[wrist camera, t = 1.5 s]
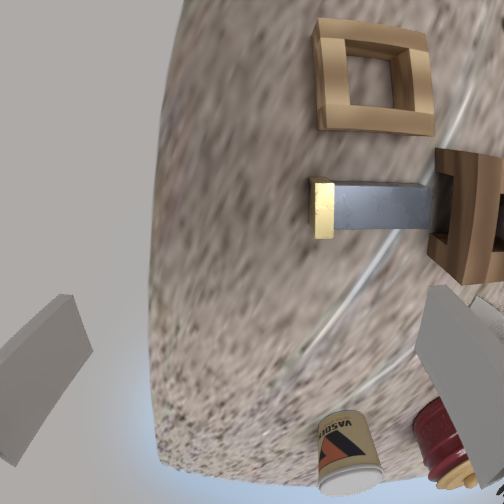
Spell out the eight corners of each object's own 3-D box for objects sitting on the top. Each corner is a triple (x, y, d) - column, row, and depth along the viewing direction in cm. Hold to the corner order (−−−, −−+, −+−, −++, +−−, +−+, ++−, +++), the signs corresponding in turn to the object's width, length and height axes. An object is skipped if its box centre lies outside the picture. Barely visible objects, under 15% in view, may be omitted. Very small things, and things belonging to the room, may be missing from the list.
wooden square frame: (311, 36, 23) (318, 17, 18) (404, 46, 22) (425, 33, 18) (317, 130, 27) (326, 128, 22) (411, 135, 26) (434, 136, 21)
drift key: (309, 225, 30) (315, 238, 26) (309, 177, 28) (315, 183, 24) (416, 224, 29) (435, 237, 25) (419, 180, 27) (440, 187, 23)
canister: (404, 440, 43) (425, 514, 26) (420, 398, 39) (454, 484, 22) (459, 422, 42) (487, 487, 25) (480, 379, 37) (522, 450, 21)
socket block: (426, 254, 30) (461, 285, 23) (435, 147, 26) (478, 153, 19) (497, 251, 29) (533, 277, 22) (507, 159, 25) (550, 170, 18)
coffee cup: (350, 398, 39) (365, 465, 27) (379, 420, 41) (395, 478, 29) (301, 426, 41) (304, 489, 30) (334, 445, 43) (340, 501, 32)
